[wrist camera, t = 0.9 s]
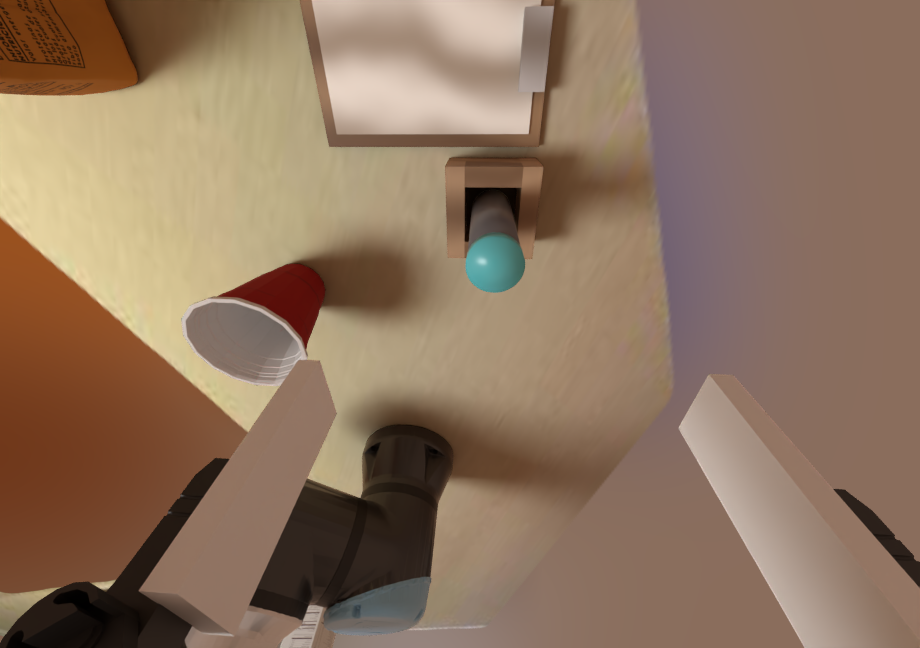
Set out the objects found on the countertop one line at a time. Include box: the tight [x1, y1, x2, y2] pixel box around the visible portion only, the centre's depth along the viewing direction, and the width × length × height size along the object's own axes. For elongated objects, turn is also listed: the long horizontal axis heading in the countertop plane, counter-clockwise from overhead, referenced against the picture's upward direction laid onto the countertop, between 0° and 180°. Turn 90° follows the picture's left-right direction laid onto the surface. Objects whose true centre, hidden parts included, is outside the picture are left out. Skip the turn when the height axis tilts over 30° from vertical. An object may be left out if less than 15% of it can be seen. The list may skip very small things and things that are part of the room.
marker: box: [466, 189, 525, 293], centre depth 27 cm, size 4×4×15 cm
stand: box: [445, 158, 543, 259], centre depth 31 cm, size 8×8×4 cm
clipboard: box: [300, 0, 555, 147], centre depth 26 cm, size 13×19×2 cm
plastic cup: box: [181, 264, 325, 386], centre depth 35 cm, size 11×11×12 cm
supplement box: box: [280, 604, 336, 648], centre depth 88 cm, size 10×9×17 cm
